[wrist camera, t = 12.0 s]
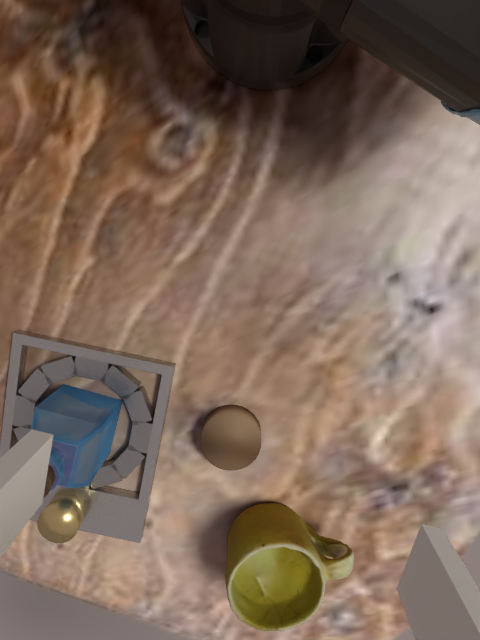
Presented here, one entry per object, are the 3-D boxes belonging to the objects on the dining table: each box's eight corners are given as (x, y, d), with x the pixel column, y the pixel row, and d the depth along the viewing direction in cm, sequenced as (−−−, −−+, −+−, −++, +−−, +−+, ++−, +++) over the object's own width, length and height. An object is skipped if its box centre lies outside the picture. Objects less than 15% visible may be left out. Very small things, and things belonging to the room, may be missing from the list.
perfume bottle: (52, 438, 47) (-15, 506, 36) (63, 384, 46) (-2, 436, 34) (109, 453, 47) (61, 527, 36) (122, 400, 46) (77, 458, 34)
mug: (218, 599, 48) (231, 655, 38) (215, 499, 50) (226, 529, 40) (327, 585, 50) (366, 635, 40) (321, 490, 51) (357, 516, 42)
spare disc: (209, 398, 46) (206, 408, 44) (266, 410, 46) (267, 420, 44) (198, 451, 47) (194, 463, 45) (253, 463, 47) (253, 475, 45)
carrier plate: (19, 330, 45) (-5, 340, 41) (175, 363, 45) (167, 377, 41) (-2, 505, 49) (-25, 530, 45) (142, 535, 49) (132, 563, 45)
